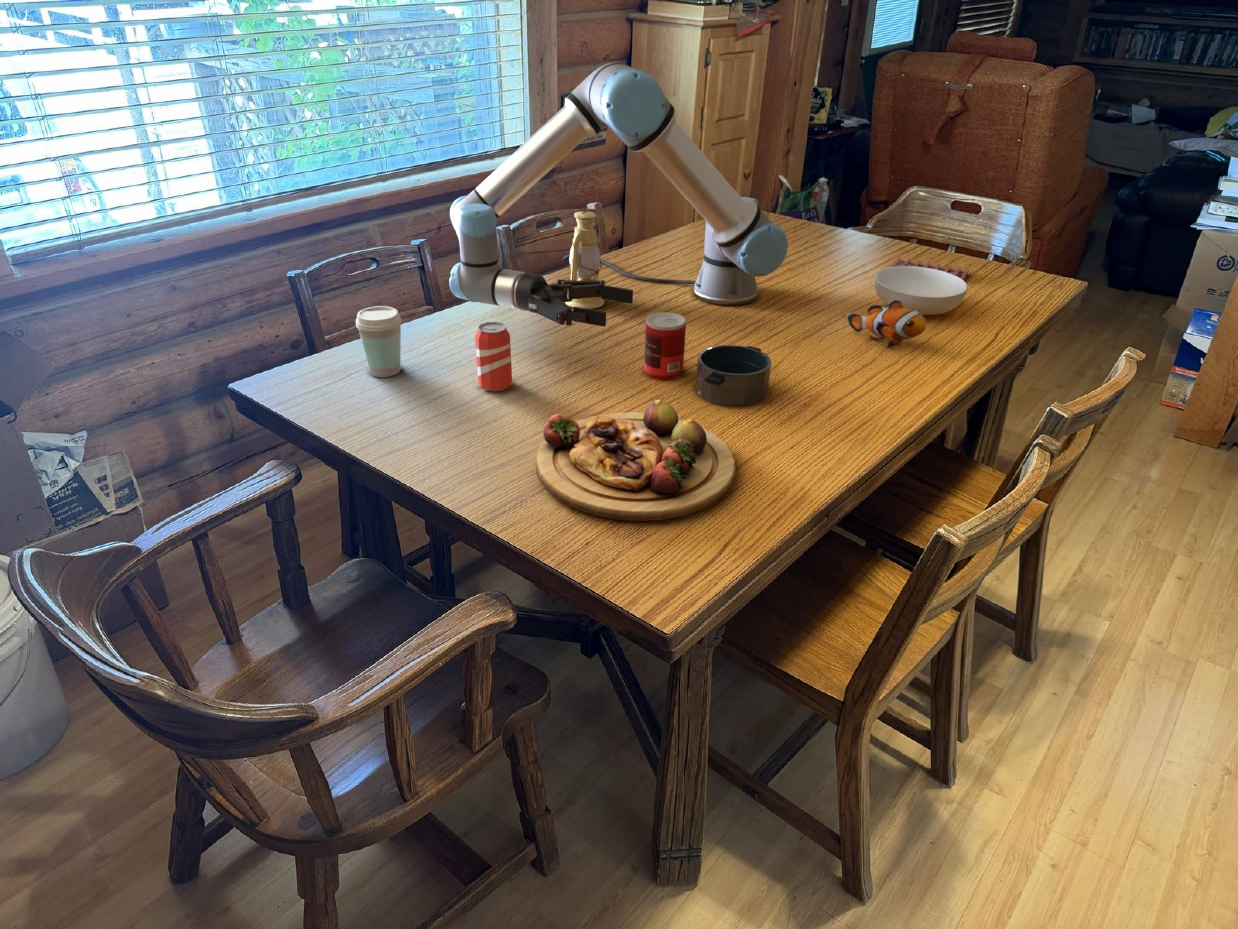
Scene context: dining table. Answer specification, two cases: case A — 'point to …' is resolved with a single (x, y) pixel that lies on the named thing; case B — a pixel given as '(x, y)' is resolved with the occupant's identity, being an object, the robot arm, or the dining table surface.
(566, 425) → the wooden plate
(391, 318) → the coffee cup
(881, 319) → the fish
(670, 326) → the canned food
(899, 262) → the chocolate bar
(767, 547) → the dining table surface
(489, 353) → the beverage can
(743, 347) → the pot
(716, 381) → the pot handles
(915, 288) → the serving bowl
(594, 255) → the lantern
